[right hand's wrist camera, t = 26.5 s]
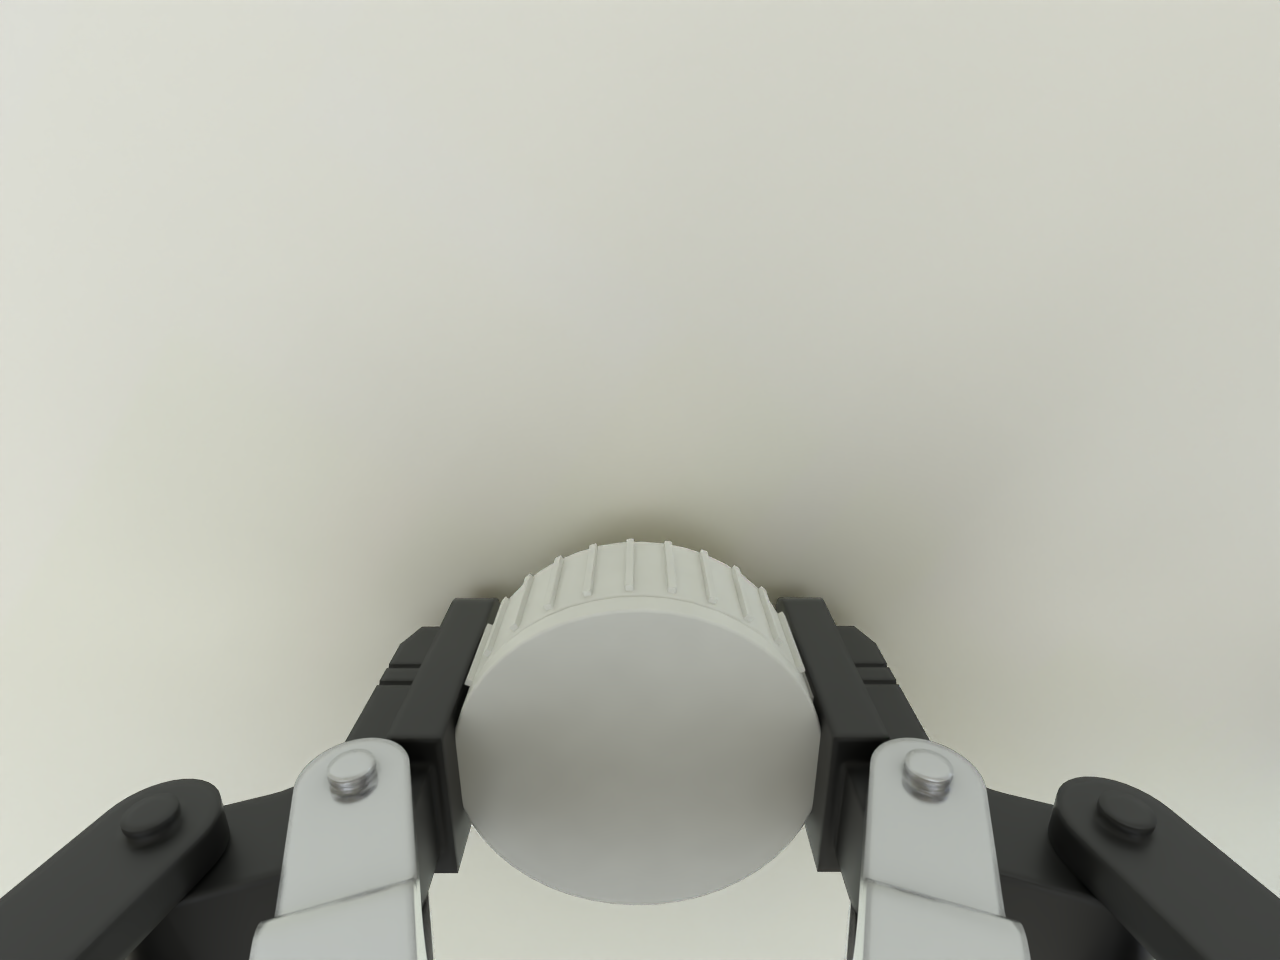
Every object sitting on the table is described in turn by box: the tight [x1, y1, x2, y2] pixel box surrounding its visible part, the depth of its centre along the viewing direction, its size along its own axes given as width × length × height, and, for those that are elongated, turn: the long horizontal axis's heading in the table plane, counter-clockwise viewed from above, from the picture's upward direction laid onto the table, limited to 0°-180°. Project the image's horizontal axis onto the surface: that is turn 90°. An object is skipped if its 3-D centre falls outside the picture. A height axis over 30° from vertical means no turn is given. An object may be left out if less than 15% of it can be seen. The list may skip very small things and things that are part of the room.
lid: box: [455, 539, 821, 905], centre depth 10 cm, size 5×5×2 cm
